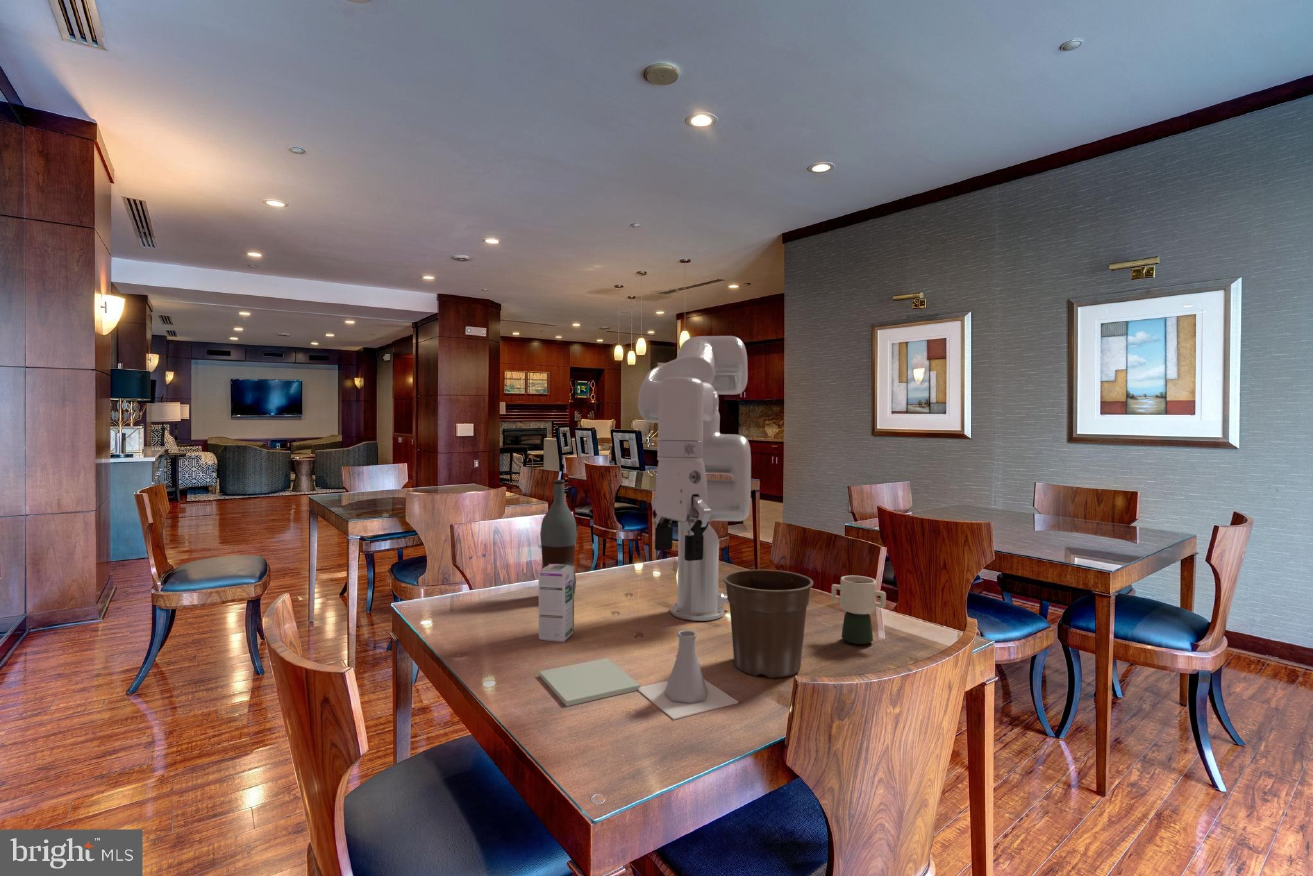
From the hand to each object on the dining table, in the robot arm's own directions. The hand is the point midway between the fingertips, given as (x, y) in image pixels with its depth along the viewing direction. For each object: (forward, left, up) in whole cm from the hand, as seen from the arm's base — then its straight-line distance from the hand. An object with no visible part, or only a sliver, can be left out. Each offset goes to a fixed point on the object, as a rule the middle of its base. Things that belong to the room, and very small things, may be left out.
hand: (678, 554), depth 100 cm
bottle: (-1, -59, -23) cm, 63 cm away
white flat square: (0, +3, -23) cm, 23 cm away
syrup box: (+9, -33, -23) cm, 41 cm away
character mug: (-45, -2, -23) cm, 51 cm away
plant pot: (-20, -1, -23) cm, 30 cm away
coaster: (+12, -9, -23) cm, 27 cm away
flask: (0, +3, -22) cm, 23 cm away
